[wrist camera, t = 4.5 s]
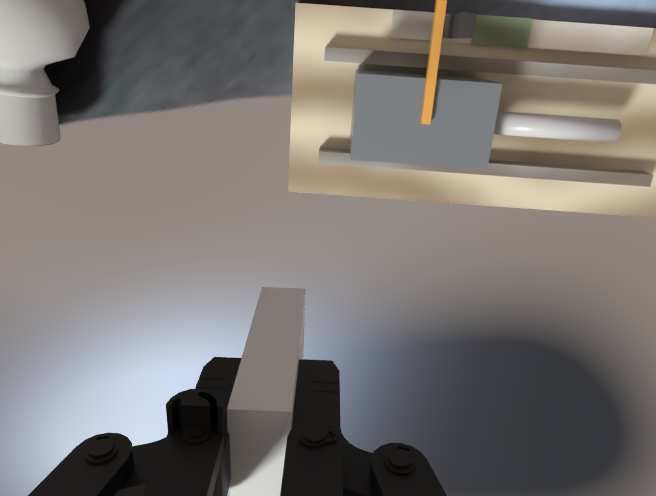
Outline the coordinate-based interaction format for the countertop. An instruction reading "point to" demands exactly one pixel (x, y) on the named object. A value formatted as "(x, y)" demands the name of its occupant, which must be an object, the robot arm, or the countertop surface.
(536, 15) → the countertop surface
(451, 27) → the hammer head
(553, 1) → the countertop surface
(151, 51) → the countertop surface
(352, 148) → the sliding vise jaw
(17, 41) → the bottle
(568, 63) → the bench vise
